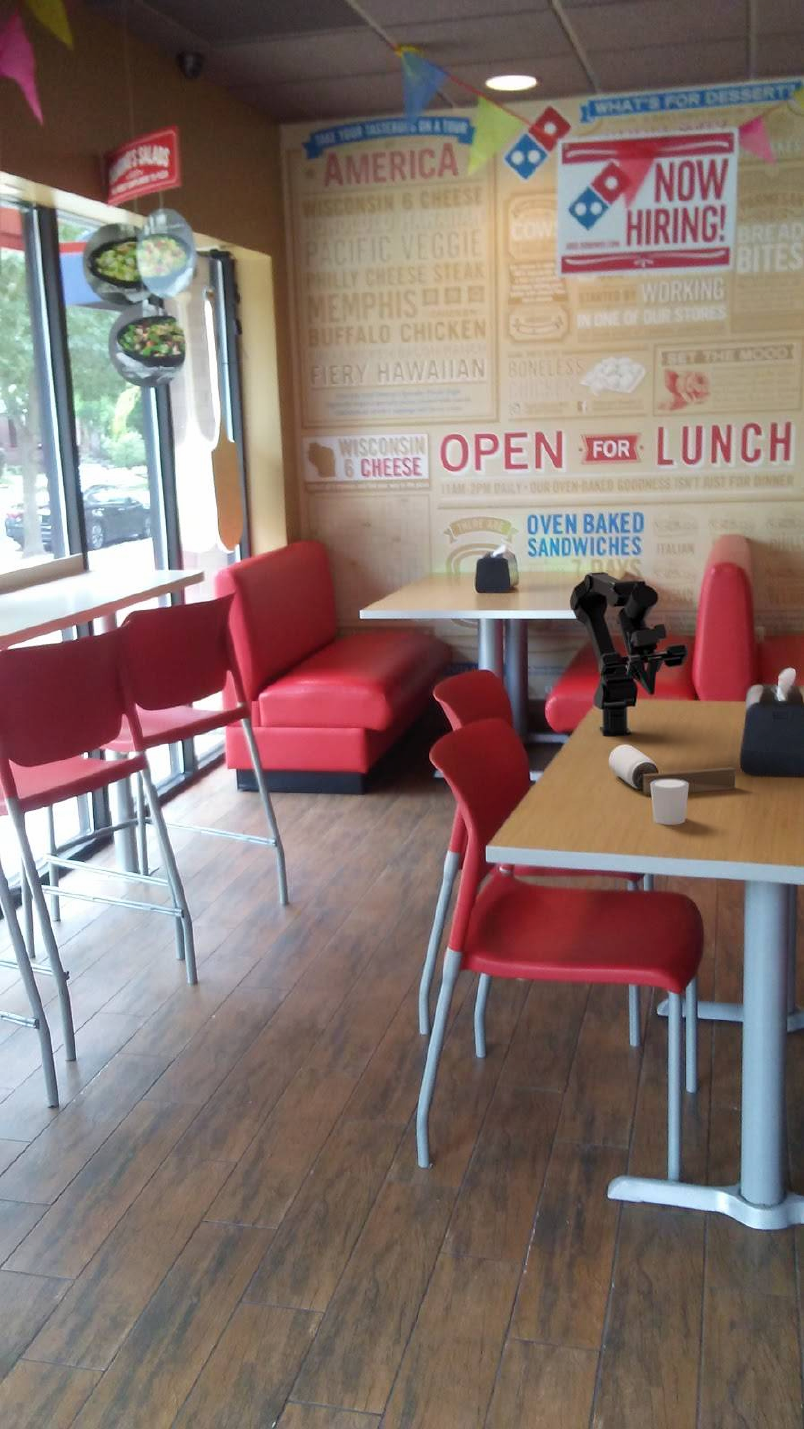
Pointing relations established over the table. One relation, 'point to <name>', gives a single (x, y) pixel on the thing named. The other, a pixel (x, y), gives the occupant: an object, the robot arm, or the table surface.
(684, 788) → the white cup
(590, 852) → the table surface
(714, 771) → the rail
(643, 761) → the can
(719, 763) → the table surface
